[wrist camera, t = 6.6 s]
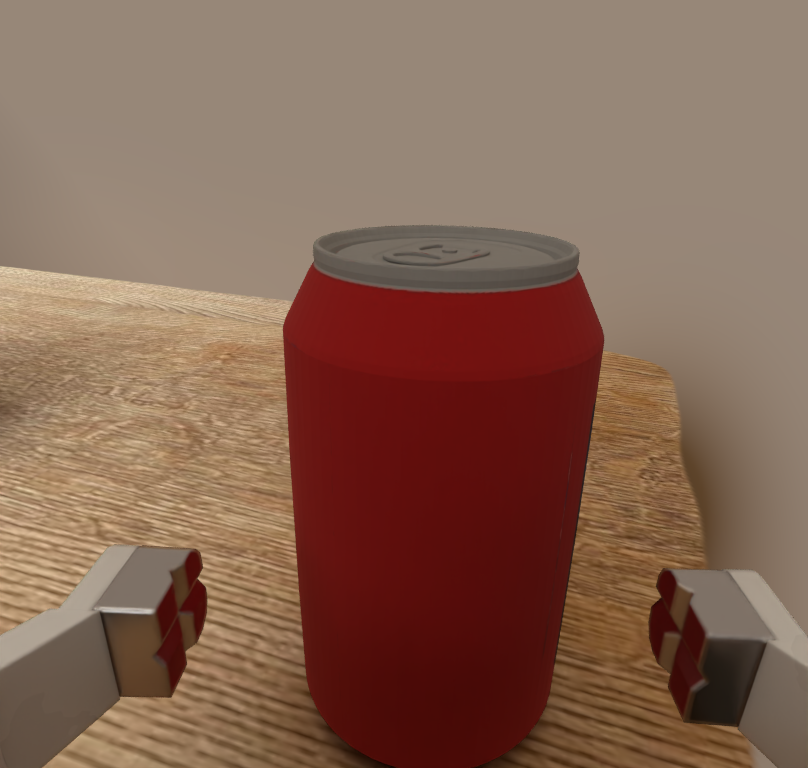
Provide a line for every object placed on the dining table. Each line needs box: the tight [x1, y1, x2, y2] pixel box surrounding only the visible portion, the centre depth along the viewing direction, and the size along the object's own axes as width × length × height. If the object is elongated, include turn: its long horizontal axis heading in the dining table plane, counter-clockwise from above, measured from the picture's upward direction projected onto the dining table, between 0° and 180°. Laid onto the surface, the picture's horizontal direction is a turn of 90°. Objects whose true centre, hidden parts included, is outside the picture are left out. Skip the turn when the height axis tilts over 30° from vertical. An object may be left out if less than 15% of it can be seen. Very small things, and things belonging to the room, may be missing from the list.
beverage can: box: [283, 225, 604, 768], centre depth 14 cm, size 7×7×12 cm
